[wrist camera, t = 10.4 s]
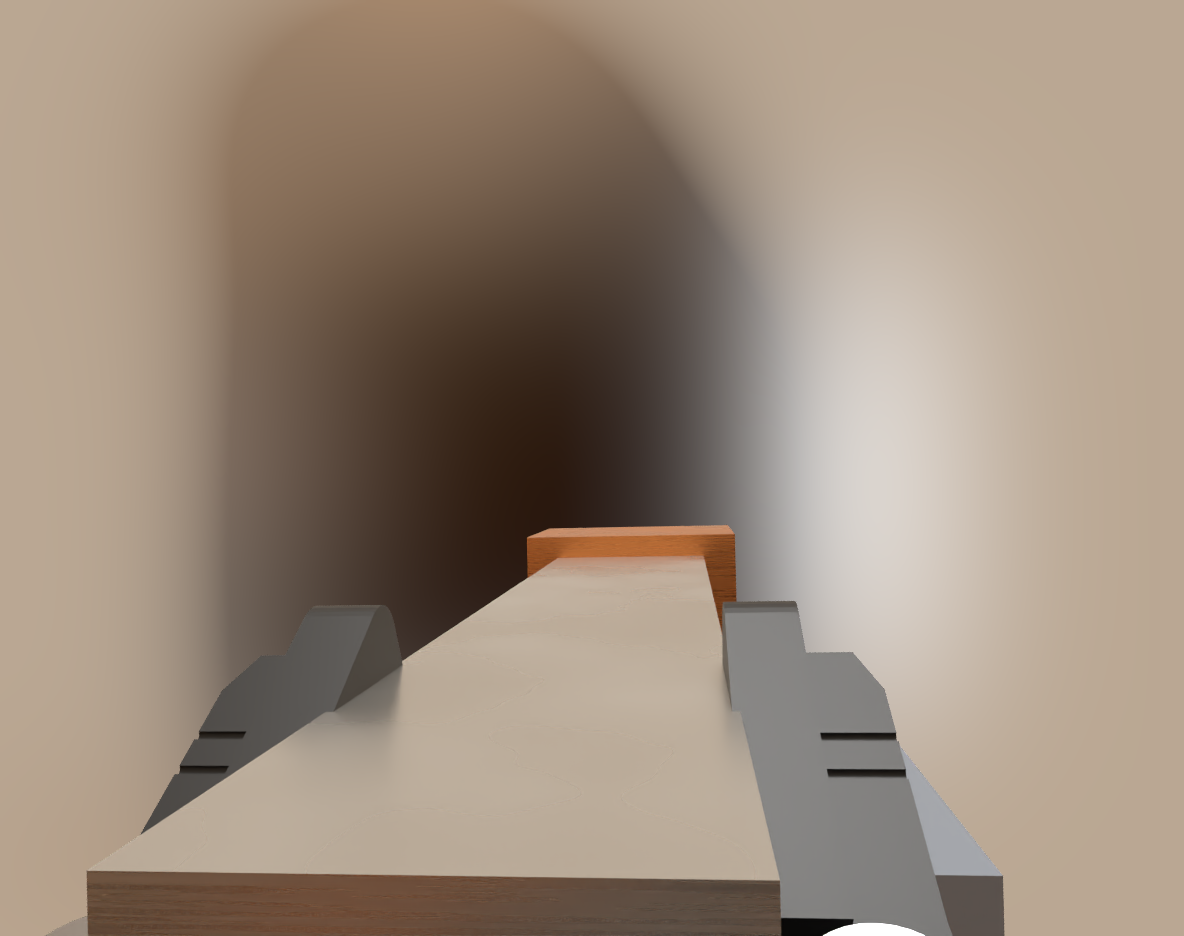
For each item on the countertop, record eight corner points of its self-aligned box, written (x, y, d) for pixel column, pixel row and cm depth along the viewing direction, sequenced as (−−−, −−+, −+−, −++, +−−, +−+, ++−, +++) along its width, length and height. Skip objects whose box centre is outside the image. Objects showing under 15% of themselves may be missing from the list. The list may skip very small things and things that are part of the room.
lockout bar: (556, 646, 29) (554, 526, 29) (728, 644, 29) (726, 523, 29) (-41, 1451, 5) (-52, 770, 5) (958, 1526, 5) (939, 777, 5)
